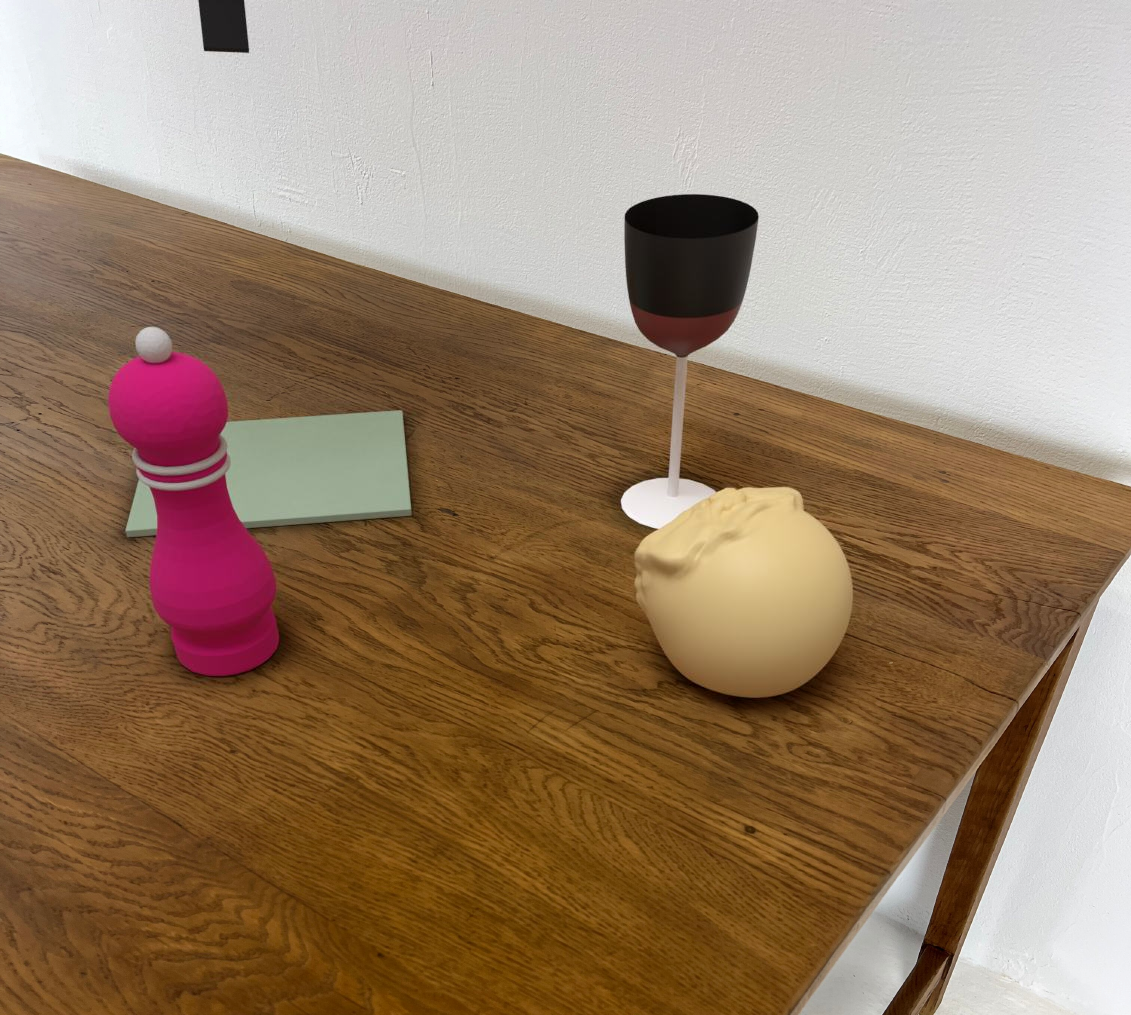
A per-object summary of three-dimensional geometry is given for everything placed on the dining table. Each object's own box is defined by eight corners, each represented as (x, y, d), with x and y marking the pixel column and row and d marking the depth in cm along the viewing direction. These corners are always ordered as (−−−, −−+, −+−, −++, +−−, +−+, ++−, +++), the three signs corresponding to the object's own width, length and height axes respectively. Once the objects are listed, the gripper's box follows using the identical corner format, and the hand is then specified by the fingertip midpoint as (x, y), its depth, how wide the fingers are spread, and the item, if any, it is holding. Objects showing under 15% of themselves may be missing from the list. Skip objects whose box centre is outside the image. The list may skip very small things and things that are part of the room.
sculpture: (729, 583, 76) (745, 433, 69) (875, 666, 69) (911, 509, 62) (603, 653, 70) (606, 497, 63) (749, 750, 64) (772, 589, 56)
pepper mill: (253, 599, 75) (184, 290, 61) (309, 651, 71) (248, 331, 57) (149, 641, 71) (51, 324, 58) (201, 698, 67) (110, 371, 54)
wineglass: (751, 498, 84) (785, 211, 71) (678, 546, 79) (701, 248, 66) (666, 463, 88) (683, 185, 75) (592, 507, 83) (596, 218, 70)
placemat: (127, 537, 80) (125, 530, 80) (154, 433, 92) (152, 426, 92) (411, 516, 82) (411, 508, 82) (402, 416, 94) (402, 409, 94)
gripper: (248, -666, 47) (299, -61, 53) (251, -317, 70) (286, 76, 76) (52, -701, 45) (130, -71, 52) (121, -332, 68) (169, 72, 75)
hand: (223, 17), depth 64 cm, fingers open, 13 cm apart
